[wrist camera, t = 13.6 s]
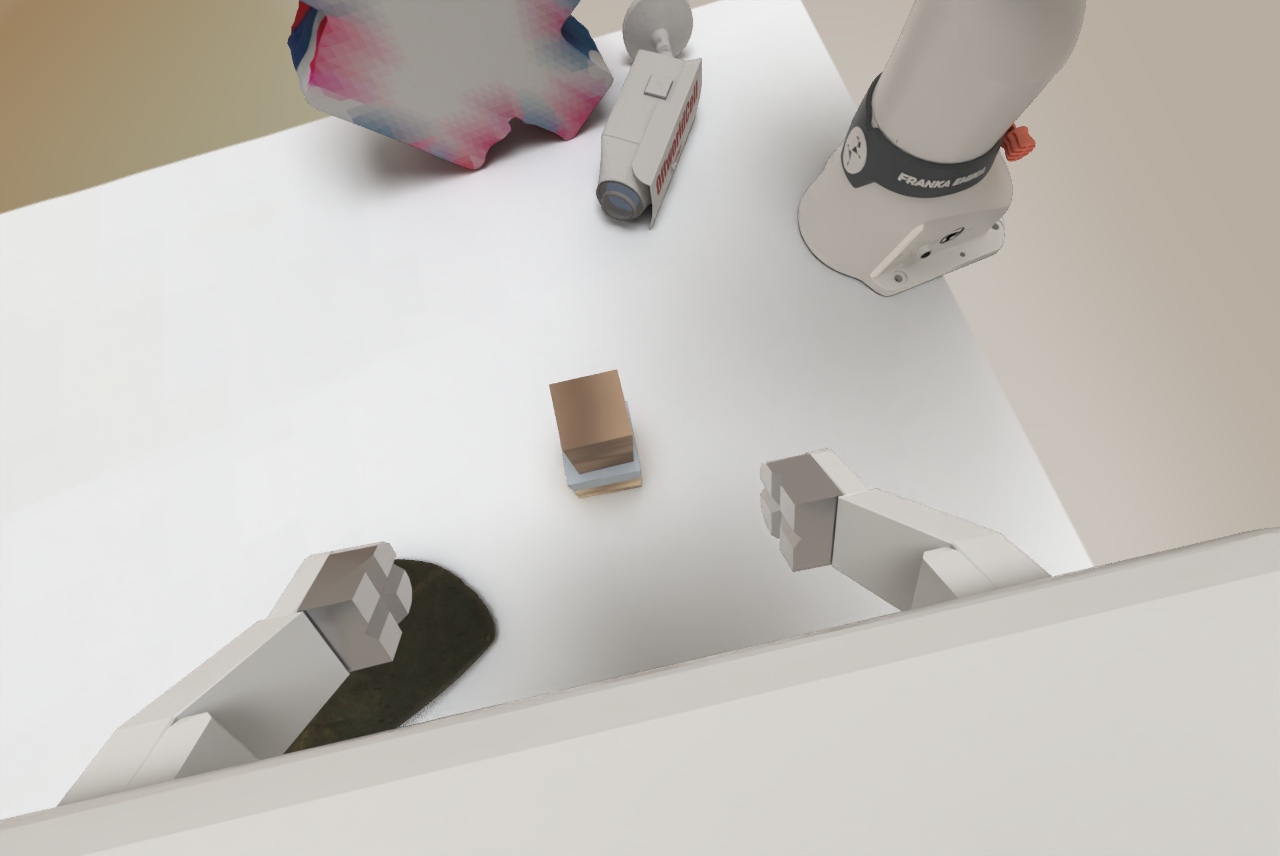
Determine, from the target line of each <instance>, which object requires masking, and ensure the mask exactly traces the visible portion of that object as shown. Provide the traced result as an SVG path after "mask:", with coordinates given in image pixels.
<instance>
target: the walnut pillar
mask: <svg viewBox="0 0 1280 856" xmlns="http://www.w3.org/2000/svg"><path fill="white" fill-rule="evenodd" d="M549 386H550V391H551V396H552V401H553V406H554V411H555V415H556V420H557V425H558V430H559V435H560V440H561V445H562V450H563V452H564V453H565V455H566V456H567V458H568V459H569V460H570V462H571V463H572V465H573V466H574V467H575V469H576V470H577V472H578V473H579V474H583V473H587V472H591V471H595V470H600V469H604V468H608V467H612V466H617V465H621V464H625V463H629V462H633V461H634V455H633V433H632V429H631V425H630V420H629V416H628V412H627V408H626V404H625V400H624V396H623V392H622V388H621V384H620V380H619V376H618V372H617V370H613V371H608V372H604V373H599V374H595V375H590V376H586V377H581V378H577V379H572V380H568V381H563V382H559V383H554V384H550V385H549Z"/></svg>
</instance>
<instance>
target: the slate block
mask: <svg viewBox="0 0 1280 856" xmlns="http://www.w3.org/2000/svg"><path fill="white" fill-rule="evenodd" d="M625 404H626V408H627V412H628V416H629V420H630V425H631V429H632V424H631V419H630V415H629V410H628V405H627V401H625ZM632 433H633V429H632ZM559 436H560V435H559ZM560 442H561V440H560ZM561 448H562V445H561ZM562 454H563V460H564V466H565V472H566V478H567V484H568V486H569V487H570V488H571V489H572V490H573V491H574V492H575V491H579V490H584V489H589V488H594V487H599V486H604V485H609V484H614V483H619V482H624V481H629V480H634V479H639V478H641V468H640V463H639V458H638V453H637V448H636V443H635V439H634V434H633V455H634V461H633V462H629V463H625V464H621V465H617V466H612V467H608V468H604V469H600V470H595V471H591V472H587V473H583V474H579V473H578V472H577V470H576V469H575V467H574V466H573V465H572V463H571V462H570V460H569V459H568V458H567V456H566V455H565V453H564V452H563V450H562Z"/></svg>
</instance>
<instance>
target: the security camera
mask: <svg viewBox="0 0 1280 856" xmlns="http://www.w3.org/2000/svg"><path fill="white" fill-rule="evenodd" d="M692 28H693V17H692V12H691V8H690V5H689V3H688V1H687V0H634V2H633V3H632V4H631V6H630V7H629V8H628V10H627V13H626V15H625V18H624V22H623V39H624V43H625V46H626V49H627V51H628V53H629V55H630V56H631V57H632V58H633V59H634V62H633V64H632V66H631V69H630V71H629V73H628V76H627V78H626V80H625V82H624V85H623V87H622V89H621V92H620V94H619V96H618V98H617V101H616V103H615V105H614V108H613V110H612V112H611V114H610V117H609V119H608V121H607V124H606V126H605V128H604V130H603V133H602V137H601V163H600V175H599V183H598V187H597V190H596V195H597V198H598V200H599V202H600V204H601V205H602V208H603V209H604V211H605V212H606V213H607V214H608V215H610V216H611V217H613V218H615V219H617V220H622V221H628V220H631V219H636V218H638V217H640V215H641V214H642V212H643V211H644V210H645V209H646V208H647V207H648V206H649V205H650V204H651V203H652V219H651V224H650V230H651V228H652V226H653V223H654V221H655V218H656V216H657V213H658V210H659V208H660V205H661V203H662V200H663V198H664V195H665V193H666V190H667V188H668V185H669V183H670V180H671V178H672V175H673V172H674V171H675V169H676V166H677V162H678V159H679V157H680V154H681V152H682V149H683V147H684V144H685V141H686V139H687V136H688V134H689V131H690V129H691V126H692V123H693V121H694V118H695V115H696V111H697V107H698V103H699V99H700V94H701V85H702V58H698V59H694V60H687V61H685V60H681V59H677V58H675V57H677V56H678V55H679V54H680V53H681V52H682V50H683V49H684V48H685V46H686V45H687V43H688V41H689V39H690V36H691V33H692Z"/></svg>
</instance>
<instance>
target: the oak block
mask: <svg viewBox="0 0 1280 856" xmlns="http://www.w3.org/2000/svg"><path fill="white" fill-rule="evenodd" d="M641 486H642V478H639V479H634V480H629V481H624V482H619V483H614V484H609V485H604V486H599V487H594V488H589V489H584V490H579V491H575V494H576V495H577V496H578V497H579V498H584V497H589V496H595V495H600V494H605V493H610V492H615V491H620V490H626V489H631V488H636V487H641Z"/></svg>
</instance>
